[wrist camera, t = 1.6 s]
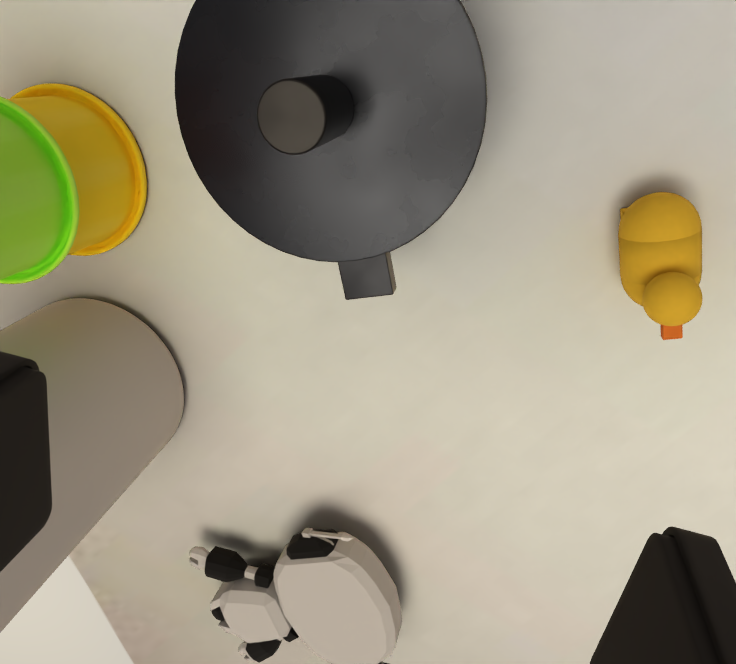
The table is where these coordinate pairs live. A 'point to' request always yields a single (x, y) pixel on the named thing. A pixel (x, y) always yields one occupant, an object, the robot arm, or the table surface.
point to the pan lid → (331, 117)
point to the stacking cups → (64, 180)
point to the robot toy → (307, 599)
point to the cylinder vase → (90, 422)
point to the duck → (662, 259)
